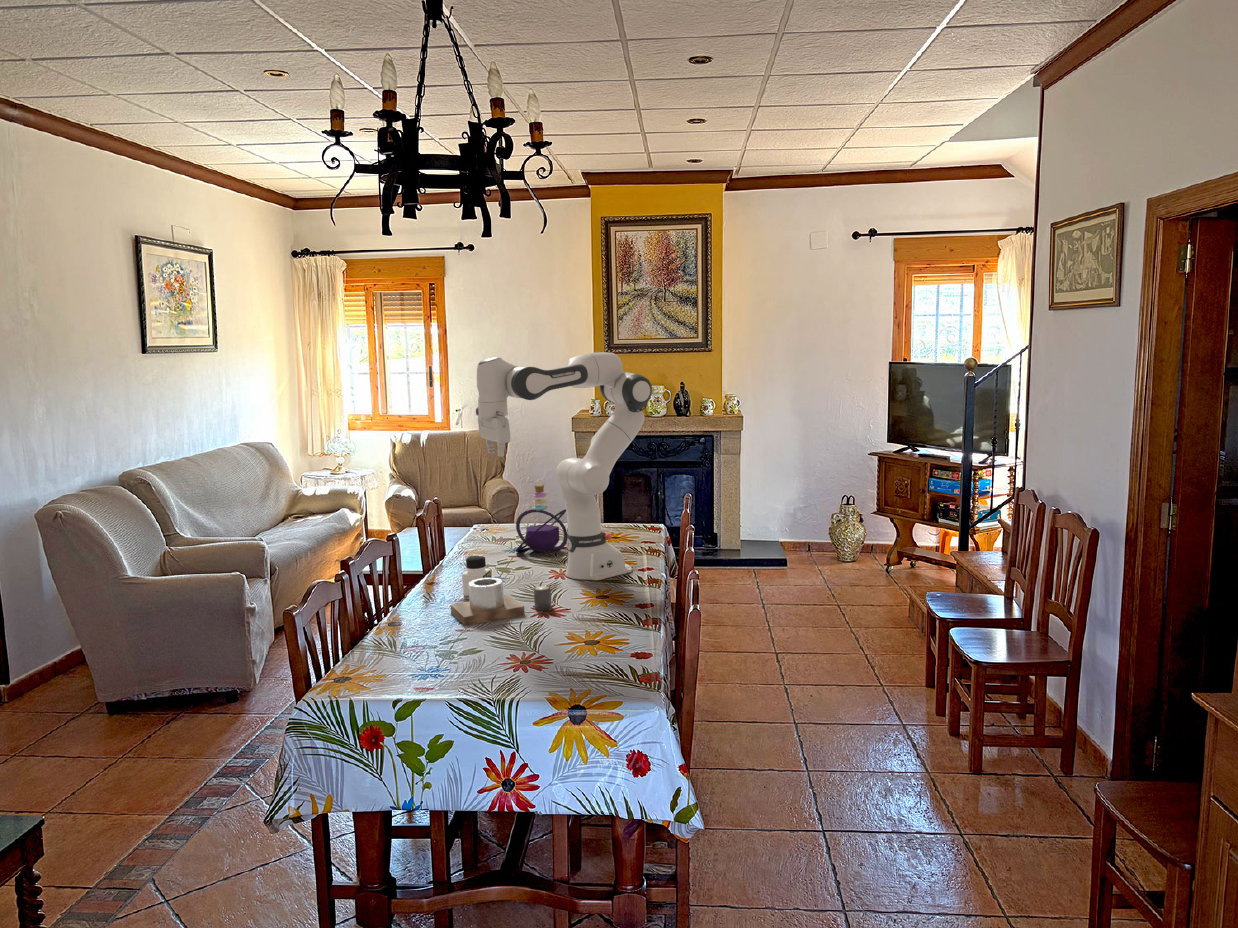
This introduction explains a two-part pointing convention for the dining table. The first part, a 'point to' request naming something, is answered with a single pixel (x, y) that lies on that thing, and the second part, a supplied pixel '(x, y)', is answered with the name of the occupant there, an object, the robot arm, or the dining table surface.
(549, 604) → the gray white-topped cylinder
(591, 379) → the robot arm
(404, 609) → the dining table surface
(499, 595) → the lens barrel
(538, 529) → the decorative bottle
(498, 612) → the mounting block
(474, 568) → the medicine bottle
